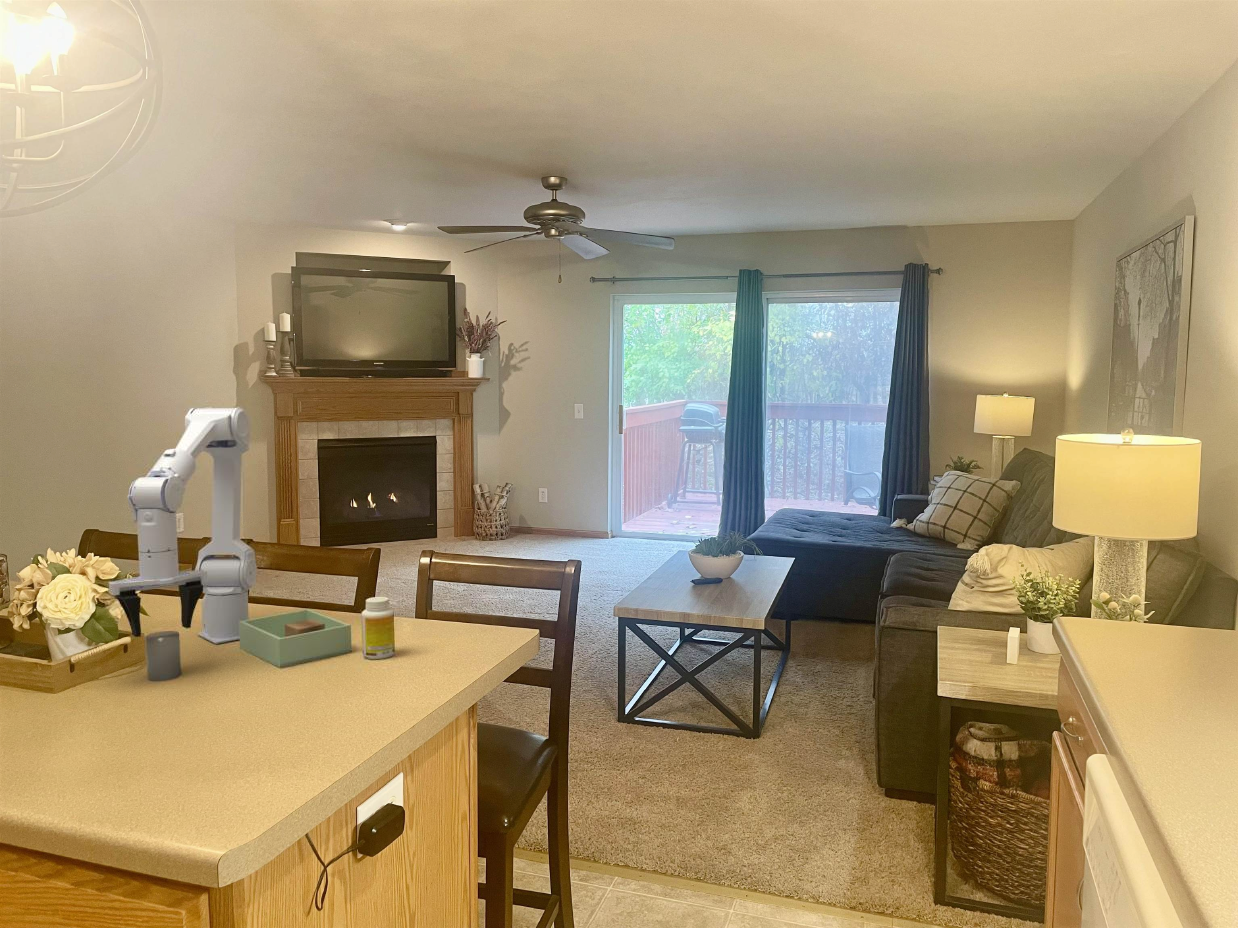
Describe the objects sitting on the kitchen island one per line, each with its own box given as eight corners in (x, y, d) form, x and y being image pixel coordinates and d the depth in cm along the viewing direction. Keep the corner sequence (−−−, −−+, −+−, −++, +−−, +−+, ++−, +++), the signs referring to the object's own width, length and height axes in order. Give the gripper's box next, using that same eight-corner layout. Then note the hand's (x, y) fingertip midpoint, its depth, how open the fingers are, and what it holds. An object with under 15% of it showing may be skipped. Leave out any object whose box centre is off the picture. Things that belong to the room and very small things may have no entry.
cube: (299, 657, 156) (298, 629, 155) (285, 651, 159) (284, 624, 159) (325, 651, 159) (324, 623, 159) (312, 646, 163) (311, 619, 162)
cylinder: (143, 676, 148) (141, 634, 147) (175, 669, 151) (173, 629, 151) (152, 683, 144) (150, 640, 144) (185, 676, 148) (183, 634, 147)
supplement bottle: (400, 656, 158) (398, 599, 158) (370, 662, 155) (368, 604, 154) (386, 649, 163) (385, 594, 162) (357, 655, 159) (355, 598, 158)
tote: (240, 648, 164) (238, 621, 164) (308, 634, 173) (307, 608, 173) (280, 668, 152) (278, 639, 151) (351, 652, 161) (350, 624, 160)
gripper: (116, 558, 138) (120, 644, 139) (213, 547, 148) (216, 627, 149) (103, 553, 143) (107, 636, 144) (197, 542, 153) (200, 620, 154)
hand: (161, 631), depth 147 cm, fingers open, 7 cm apart
